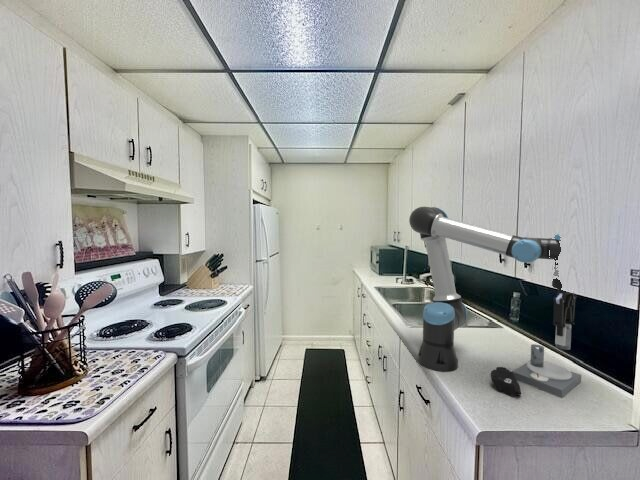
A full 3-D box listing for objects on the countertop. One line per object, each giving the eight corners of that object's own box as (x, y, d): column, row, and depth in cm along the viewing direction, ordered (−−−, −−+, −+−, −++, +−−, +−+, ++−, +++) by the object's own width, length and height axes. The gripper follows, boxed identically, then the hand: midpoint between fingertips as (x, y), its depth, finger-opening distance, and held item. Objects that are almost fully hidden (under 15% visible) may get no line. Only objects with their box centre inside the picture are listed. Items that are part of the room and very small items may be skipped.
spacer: (540, 368, 110) (541, 349, 109) (528, 364, 113) (529, 346, 113) (545, 365, 112) (546, 347, 111) (533, 361, 115) (533, 343, 115)
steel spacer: (567, 350, 103) (568, 330, 102) (553, 346, 106) (554, 327, 106) (572, 348, 105) (573, 328, 104) (558, 344, 108) (559, 325, 108)
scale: (561, 397, 97) (562, 387, 97) (511, 377, 110) (511, 368, 109) (581, 381, 107) (581, 372, 107) (533, 365, 120) (533, 356, 119)
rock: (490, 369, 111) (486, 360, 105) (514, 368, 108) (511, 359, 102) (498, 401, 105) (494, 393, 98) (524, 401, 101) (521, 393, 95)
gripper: (570, 281, 96) (566, 352, 98) (588, 276, 106) (584, 341, 107) (542, 278, 103) (539, 344, 104) (562, 273, 112) (559, 334, 113)
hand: (562, 343), depth 105 cm, fingers closed on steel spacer, 4 cm apart
